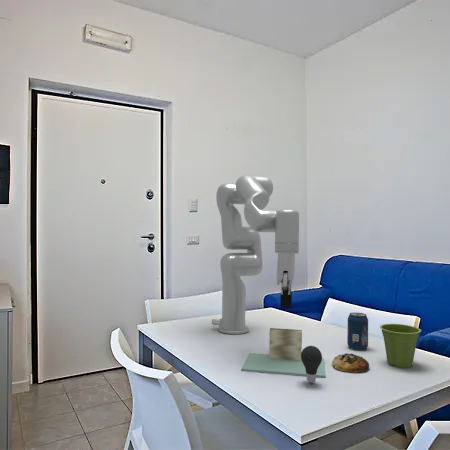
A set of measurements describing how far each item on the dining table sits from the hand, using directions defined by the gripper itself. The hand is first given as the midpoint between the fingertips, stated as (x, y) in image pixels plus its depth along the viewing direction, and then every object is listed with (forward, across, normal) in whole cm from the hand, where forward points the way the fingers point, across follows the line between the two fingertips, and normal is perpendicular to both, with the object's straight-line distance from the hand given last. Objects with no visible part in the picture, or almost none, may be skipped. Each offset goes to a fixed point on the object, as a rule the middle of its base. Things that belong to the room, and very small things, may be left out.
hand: (286, 305), depth 130 cm
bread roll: (+18, +2, +20) cm, 27 cm away
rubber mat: (+17, +5, 0) cm, 18 cm away
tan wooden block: (+17, 0, 0) cm, 17 cm away
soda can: (+18, -20, +24) cm, 36 cm away
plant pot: (+18, -5, +35) cm, 39 cm away
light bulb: (+18, +18, +8) cm, 26 cm away
